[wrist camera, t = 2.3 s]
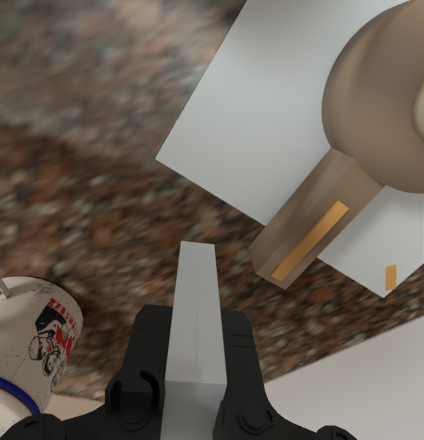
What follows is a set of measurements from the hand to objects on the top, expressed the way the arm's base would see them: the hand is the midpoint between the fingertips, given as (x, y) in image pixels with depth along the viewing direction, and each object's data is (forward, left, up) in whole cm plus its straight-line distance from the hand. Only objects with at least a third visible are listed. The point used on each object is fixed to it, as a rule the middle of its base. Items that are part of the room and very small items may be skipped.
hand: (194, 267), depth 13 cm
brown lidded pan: (+6, +8, -6) cm, 12 cm away
